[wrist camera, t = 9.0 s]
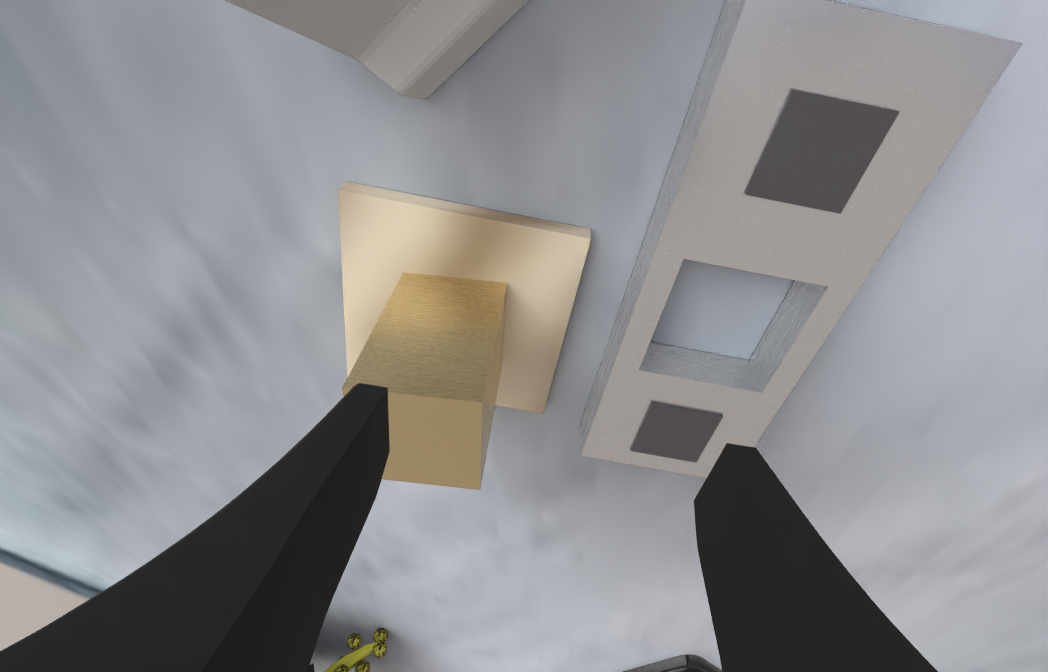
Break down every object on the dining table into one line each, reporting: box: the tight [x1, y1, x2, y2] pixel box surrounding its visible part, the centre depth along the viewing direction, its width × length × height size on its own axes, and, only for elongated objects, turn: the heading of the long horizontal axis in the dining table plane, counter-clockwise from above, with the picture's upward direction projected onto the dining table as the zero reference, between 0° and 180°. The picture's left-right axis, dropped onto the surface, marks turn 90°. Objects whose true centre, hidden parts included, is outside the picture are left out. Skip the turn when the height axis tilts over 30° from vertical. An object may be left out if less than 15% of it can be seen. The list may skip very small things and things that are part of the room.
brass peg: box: [342, 272, 507, 490], centre depth 19 cm, size 4×4×6 cm
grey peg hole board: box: [581, 0, 1023, 478], centre depth 19 cm, size 7×18×2 cm, turn 170°
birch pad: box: [338, 182, 591, 414], centre depth 21 cm, size 9×9×1 cm
